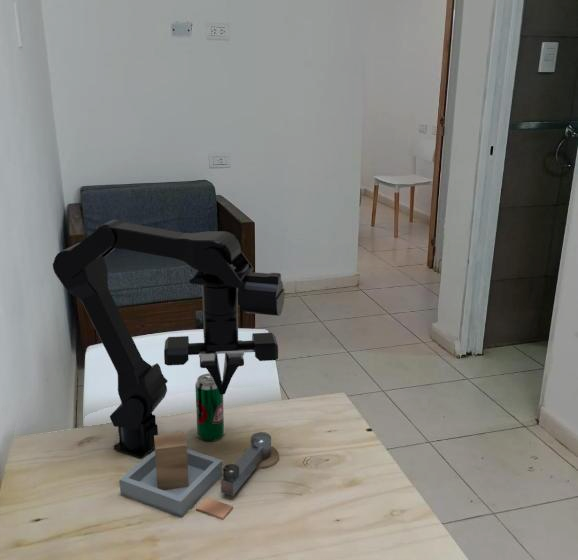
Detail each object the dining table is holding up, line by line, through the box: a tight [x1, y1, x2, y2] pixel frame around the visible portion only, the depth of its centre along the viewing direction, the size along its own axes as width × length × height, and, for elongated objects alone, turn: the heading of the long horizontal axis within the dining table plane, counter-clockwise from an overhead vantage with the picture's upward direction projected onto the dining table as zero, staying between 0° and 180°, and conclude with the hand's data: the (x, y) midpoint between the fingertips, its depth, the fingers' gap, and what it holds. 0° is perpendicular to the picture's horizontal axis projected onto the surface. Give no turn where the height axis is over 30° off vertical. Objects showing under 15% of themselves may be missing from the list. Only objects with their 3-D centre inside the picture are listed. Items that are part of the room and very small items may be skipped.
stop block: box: [154, 431, 189, 490], centre depth 102 cm, size 4×5×8 cm
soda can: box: [194, 372, 225, 442], centre depth 116 cm, size 5×5×12 cm
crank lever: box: [220, 431, 272, 497], centre depth 106 cm, size 14×4×4 cm, turn 156°
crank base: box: [195, 445, 280, 520], centre depth 105 cm, size 6×20×1 cm, turn 154°
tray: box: [118, 448, 223, 519], centre depth 103 cm, size 12×12×3 cm
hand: (222, 393), depth 107 cm, fingers closed
